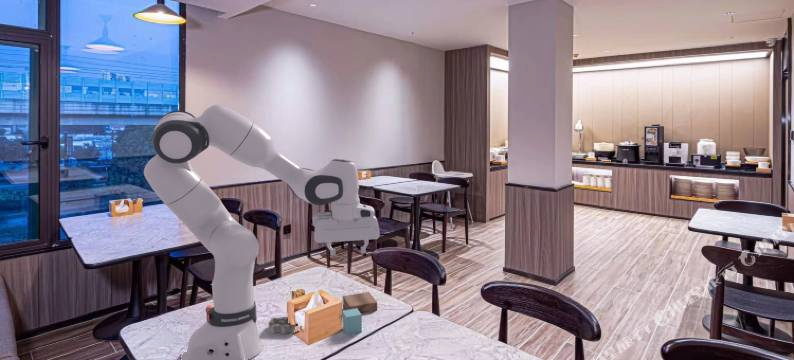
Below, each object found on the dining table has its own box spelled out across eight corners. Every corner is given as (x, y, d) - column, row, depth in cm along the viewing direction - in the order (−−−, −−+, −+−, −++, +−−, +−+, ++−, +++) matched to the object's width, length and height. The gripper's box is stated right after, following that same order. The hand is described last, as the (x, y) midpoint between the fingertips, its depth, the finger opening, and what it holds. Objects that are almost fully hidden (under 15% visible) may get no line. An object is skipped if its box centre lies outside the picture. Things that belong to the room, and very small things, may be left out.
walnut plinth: (349, 314, 153) (349, 306, 152) (343, 303, 162) (342, 296, 162) (377, 310, 156) (377, 302, 156) (369, 299, 165) (368, 292, 165)
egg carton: (305, 324, 147) (304, 313, 146) (298, 335, 139) (298, 323, 139) (274, 323, 148) (273, 312, 147) (265, 334, 140) (265, 322, 140)
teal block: (346, 335, 139) (346, 317, 138) (343, 328, 143) (342, 310, 142) (361, 332, 140) (361, 314, 140) (357, 325, 145) (357, 308, 144)
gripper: (311, 215, 131) (314, 259, 133) (379, 211, 134) (381, 254, 136) (312, 210, 138) (315, 253, 140) (377, 206, 140) (379, 248, 142)
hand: (348, 254), depth 138 cm, fingers open, 8 cm apart
